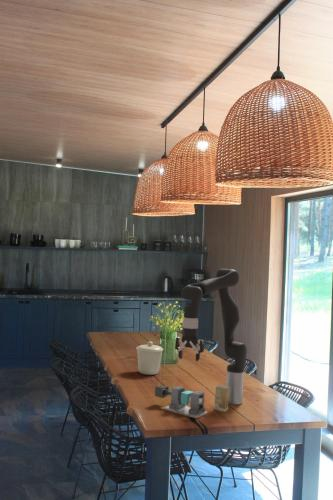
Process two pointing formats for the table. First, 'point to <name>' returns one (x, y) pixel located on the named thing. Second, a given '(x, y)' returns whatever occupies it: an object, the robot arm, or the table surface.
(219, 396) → the skincare box
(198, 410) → the bearing stand
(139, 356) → the canister
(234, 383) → the robot arm
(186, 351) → the table surface
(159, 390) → the shaft
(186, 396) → the spacer
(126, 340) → the table surface
